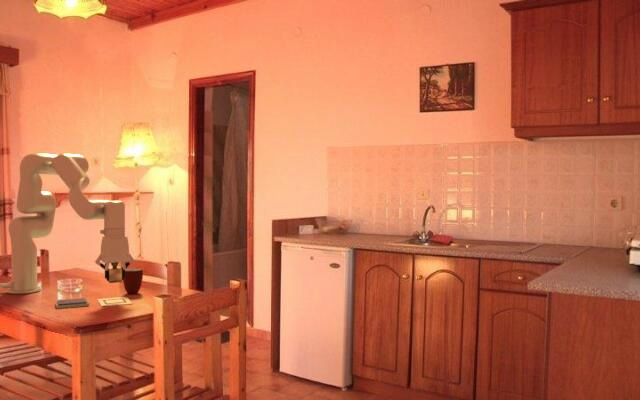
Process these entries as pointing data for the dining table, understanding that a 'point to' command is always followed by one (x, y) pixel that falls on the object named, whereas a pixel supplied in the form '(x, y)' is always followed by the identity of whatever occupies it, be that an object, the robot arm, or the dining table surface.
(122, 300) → the card
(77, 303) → the ink pad
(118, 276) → the stamp
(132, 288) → the mug
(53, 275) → the dining table surface
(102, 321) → the dining table surface
